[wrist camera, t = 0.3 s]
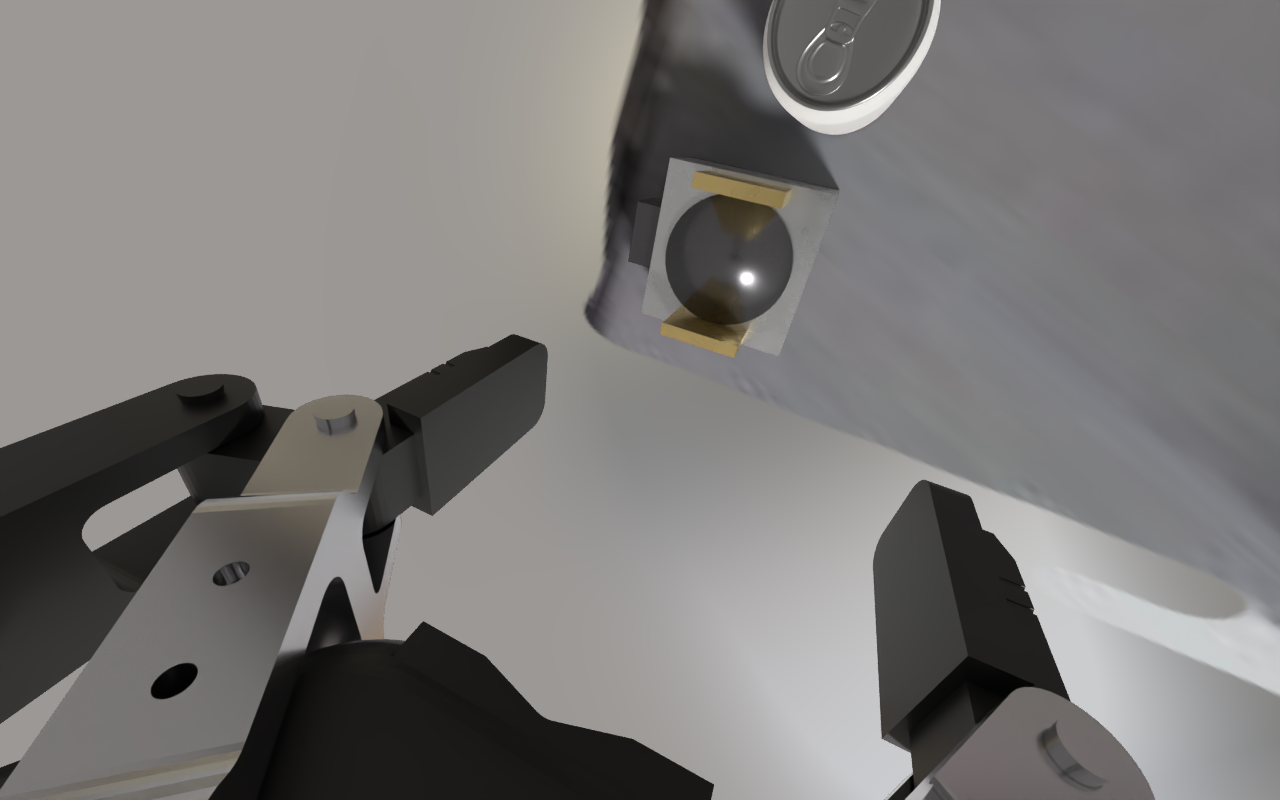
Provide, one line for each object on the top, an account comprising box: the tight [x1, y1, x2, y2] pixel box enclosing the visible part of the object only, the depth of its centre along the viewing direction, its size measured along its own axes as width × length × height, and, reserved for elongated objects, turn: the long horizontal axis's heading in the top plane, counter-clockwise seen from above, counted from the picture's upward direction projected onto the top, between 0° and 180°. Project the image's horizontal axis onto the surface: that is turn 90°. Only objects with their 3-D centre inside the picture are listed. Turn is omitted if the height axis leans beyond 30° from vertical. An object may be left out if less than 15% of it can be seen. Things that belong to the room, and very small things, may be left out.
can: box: [763, 0, 941, 135], centre depth 22 cm, size 6×6×12 cm
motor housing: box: [628, 158, 840, 358], centre depth 30 cm, size 10×12×8 cm
